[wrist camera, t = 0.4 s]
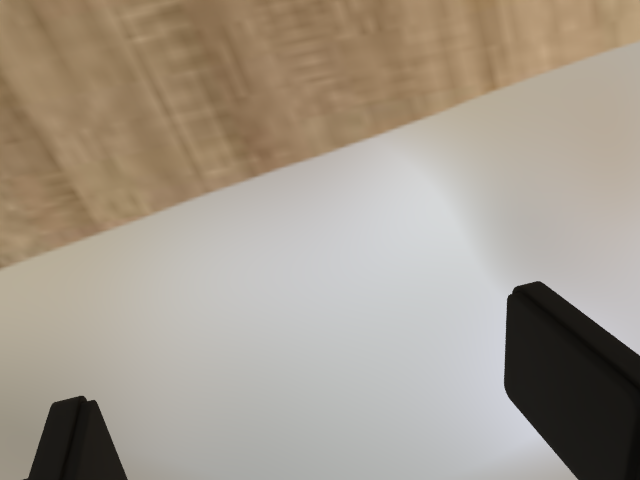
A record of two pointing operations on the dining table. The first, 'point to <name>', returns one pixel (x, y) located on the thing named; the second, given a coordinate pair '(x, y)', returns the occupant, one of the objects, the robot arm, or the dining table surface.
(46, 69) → the dining table surface
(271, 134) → the dining table surface
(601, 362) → the robot arm
